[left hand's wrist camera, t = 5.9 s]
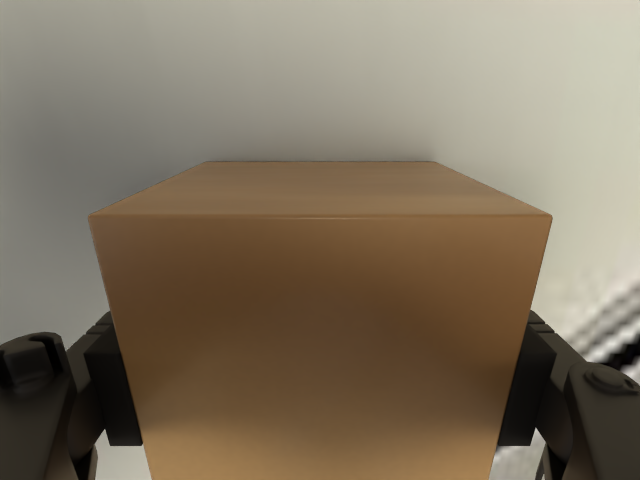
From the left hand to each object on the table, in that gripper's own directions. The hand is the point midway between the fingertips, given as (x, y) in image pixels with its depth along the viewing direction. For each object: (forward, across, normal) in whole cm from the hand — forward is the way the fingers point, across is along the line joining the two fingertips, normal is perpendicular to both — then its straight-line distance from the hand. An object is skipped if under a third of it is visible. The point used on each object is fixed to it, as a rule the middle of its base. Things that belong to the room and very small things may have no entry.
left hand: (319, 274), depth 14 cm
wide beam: (0, 0, -27) cm, 27 cm away
